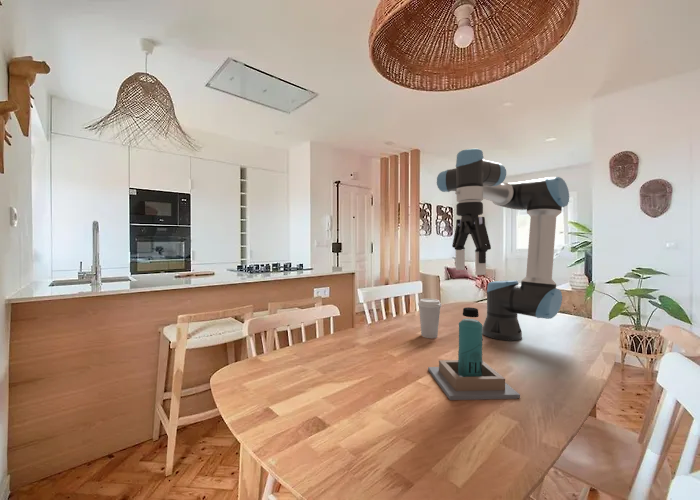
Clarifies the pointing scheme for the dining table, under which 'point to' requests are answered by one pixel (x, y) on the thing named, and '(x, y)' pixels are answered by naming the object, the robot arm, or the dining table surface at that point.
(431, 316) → the coffee cup
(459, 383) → the bottle stand
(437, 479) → the dining table surface
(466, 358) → the beverage bottle
